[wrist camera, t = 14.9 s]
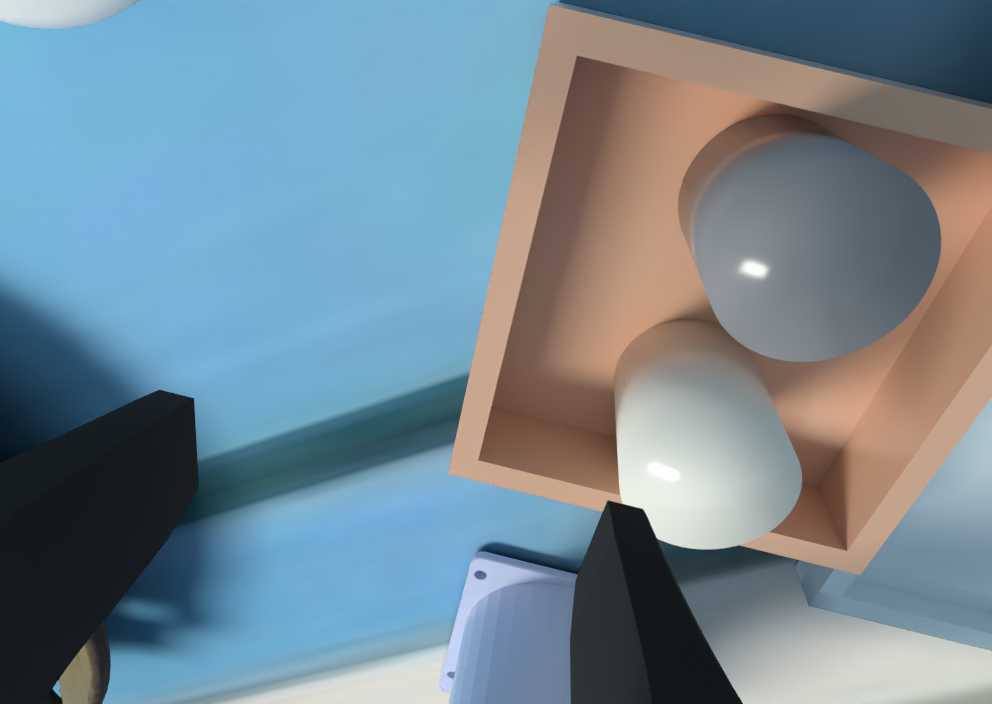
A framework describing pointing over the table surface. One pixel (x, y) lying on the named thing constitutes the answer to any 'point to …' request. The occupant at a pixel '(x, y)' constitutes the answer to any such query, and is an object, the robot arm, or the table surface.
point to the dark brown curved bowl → (86, 673)
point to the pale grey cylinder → (701, 438)
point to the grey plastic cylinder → (805, 238)
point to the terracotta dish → (679, 290)
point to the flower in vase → (59, 12)
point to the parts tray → (928, 555)
